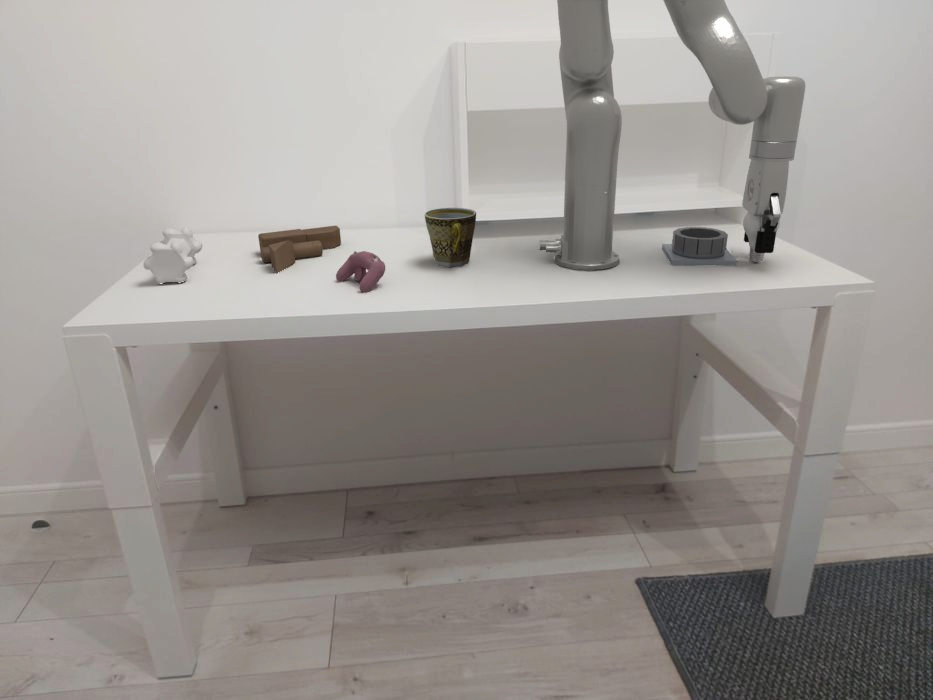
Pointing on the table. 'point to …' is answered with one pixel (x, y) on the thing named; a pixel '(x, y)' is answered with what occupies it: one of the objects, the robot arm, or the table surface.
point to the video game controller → (362, 269)
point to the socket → (699, 247)
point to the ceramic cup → (451, 235)
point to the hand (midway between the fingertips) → (757, 246)
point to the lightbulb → (754, 235)
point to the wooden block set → (296, 245)
